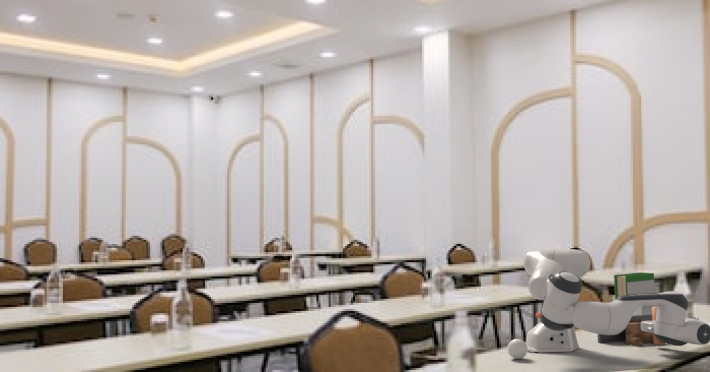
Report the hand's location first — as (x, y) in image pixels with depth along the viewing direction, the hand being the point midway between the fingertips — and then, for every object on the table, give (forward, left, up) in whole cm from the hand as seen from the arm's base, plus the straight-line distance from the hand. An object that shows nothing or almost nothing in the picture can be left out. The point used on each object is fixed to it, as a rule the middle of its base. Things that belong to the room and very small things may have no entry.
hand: (657, 322), depth 281 cm
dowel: (0, -1, -8) cm, 8 cm away
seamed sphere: (-59, -2, -10) cm, 60 cm away
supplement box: (+14, +33, -10) cm, 37 cm away
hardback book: (+20, +50, -10) cm, 55 cm away
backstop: (0, +18, -10) cm, 21 cm away
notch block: (0, +10, -10) cm, 14 cm away
